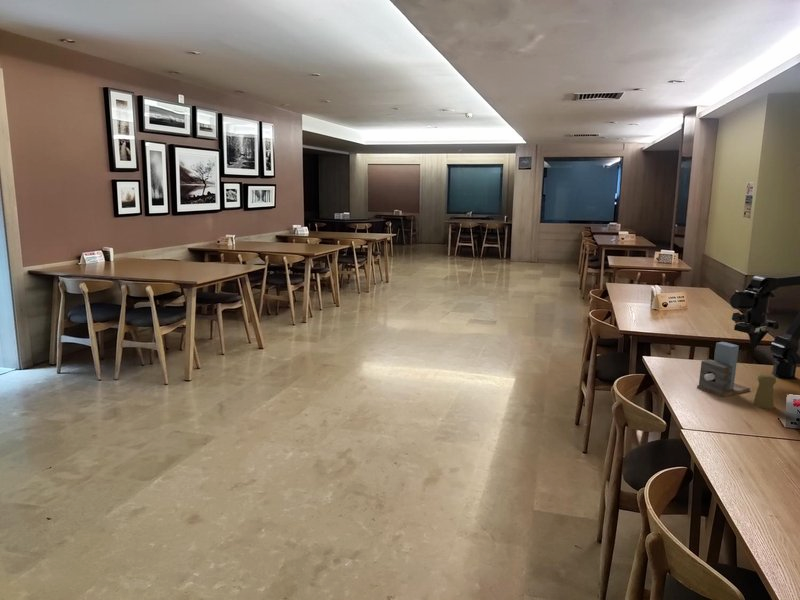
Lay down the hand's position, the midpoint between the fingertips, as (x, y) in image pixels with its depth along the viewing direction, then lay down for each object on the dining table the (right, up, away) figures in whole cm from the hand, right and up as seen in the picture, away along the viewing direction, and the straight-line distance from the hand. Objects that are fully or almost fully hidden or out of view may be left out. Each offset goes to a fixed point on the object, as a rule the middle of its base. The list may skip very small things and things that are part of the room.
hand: (753, 347), depth 222 cm
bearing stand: (-19, -14, -12) cm, 26 cm away
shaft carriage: (-23, -13, -14) cm, 30 cm away
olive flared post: (-14, -18, -27) cm, 35 cm away
